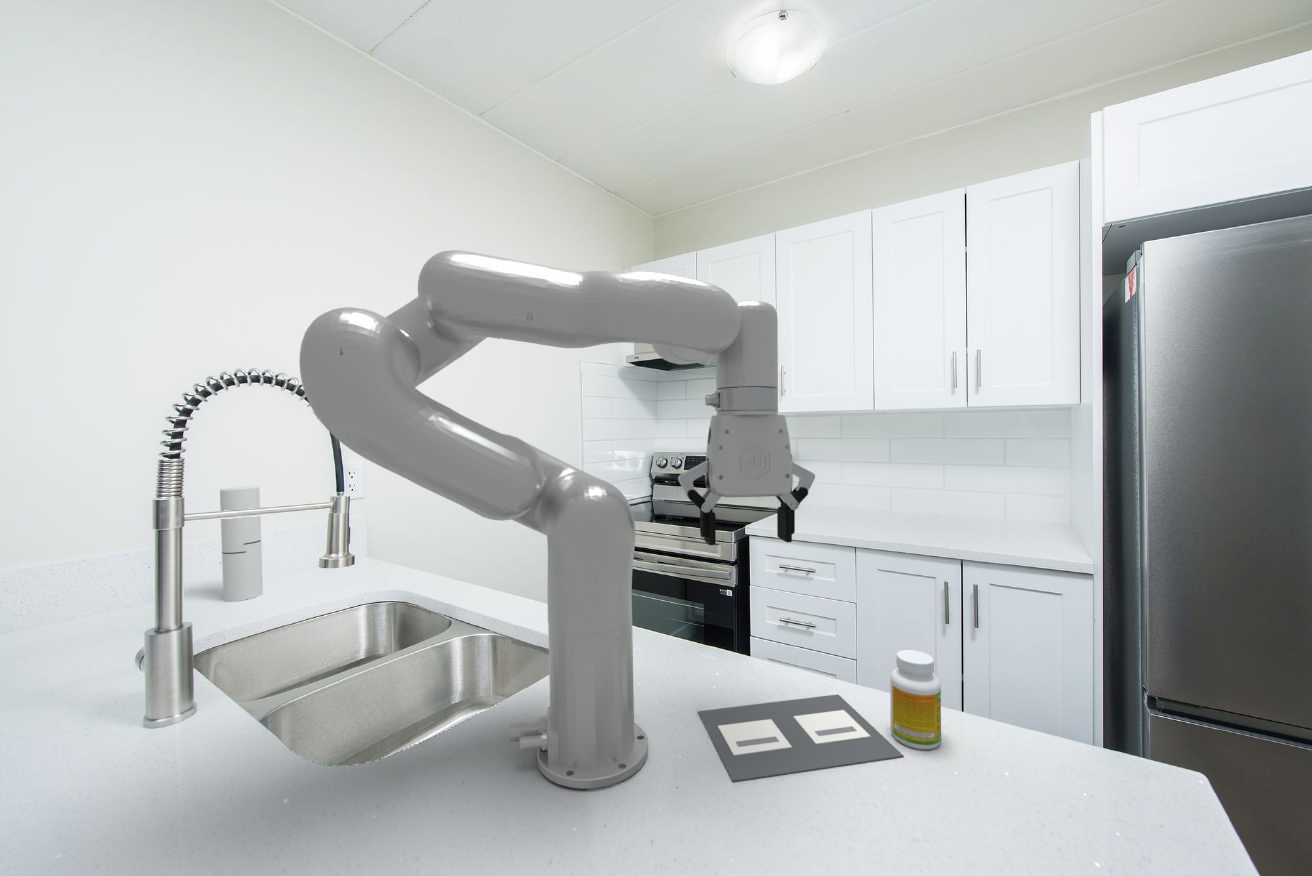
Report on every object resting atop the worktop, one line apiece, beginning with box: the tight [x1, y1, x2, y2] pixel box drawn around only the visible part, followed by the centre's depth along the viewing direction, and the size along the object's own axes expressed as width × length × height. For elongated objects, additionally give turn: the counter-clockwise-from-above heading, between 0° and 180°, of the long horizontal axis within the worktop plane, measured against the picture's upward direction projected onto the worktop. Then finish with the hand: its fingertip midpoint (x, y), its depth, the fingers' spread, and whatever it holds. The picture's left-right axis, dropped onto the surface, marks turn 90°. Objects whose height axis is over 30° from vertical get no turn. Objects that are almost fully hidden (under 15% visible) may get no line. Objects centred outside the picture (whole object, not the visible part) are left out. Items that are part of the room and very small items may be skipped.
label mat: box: [697, 693, 905, 783], centre depth 65 cm, size 20×14×1 cm
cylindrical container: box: [219, 486, 264, 602], centre depth 123 cm, size 7×7×25 cm
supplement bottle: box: [889, 649, 942, 751], centre depth 63 cm, size 5×5×10 cm
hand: (747, 541), depth 66 cm, fingers open, 9 cm apart
